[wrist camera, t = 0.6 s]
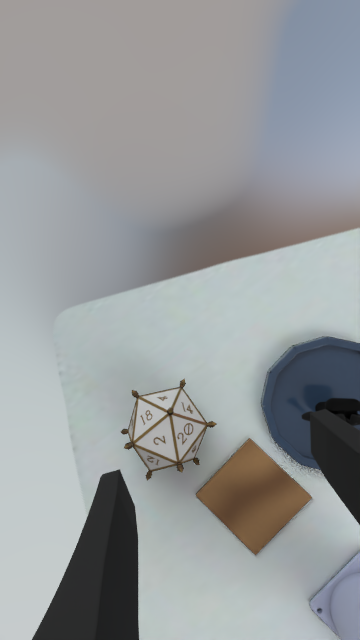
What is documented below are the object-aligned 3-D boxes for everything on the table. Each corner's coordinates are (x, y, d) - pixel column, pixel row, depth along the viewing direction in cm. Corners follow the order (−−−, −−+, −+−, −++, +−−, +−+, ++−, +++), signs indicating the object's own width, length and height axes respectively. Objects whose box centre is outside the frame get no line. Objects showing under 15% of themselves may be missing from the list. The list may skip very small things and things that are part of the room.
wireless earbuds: (294, 414, 32) (308, 430, 27) (293, 390, 32) (308, 401, 27) (365, 416, 31) (394, 433, 26) (365, 391, 31) (394, 403, 26)
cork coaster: (310, 495, 32) (312, 497, 31) (255, 552, 32) (255, 555, 32) (249, 437, 33) (249, 438, 32) (196, 493, 33) (195, 495, 33)
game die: (175, 391, 37) (185, 348, 30) (218, 454, 34) (243, 424, 26) (107, 431, 34) (98, 394, 26) (147, 506, 30) (151, 490, 22)
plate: (425, 400, 31) (432, 403, 30) (333, 494, 32) (337, 499, 30) (322, 312, 32) (326, 311, 31) (236, 403, 33) (237, 406, 32)
